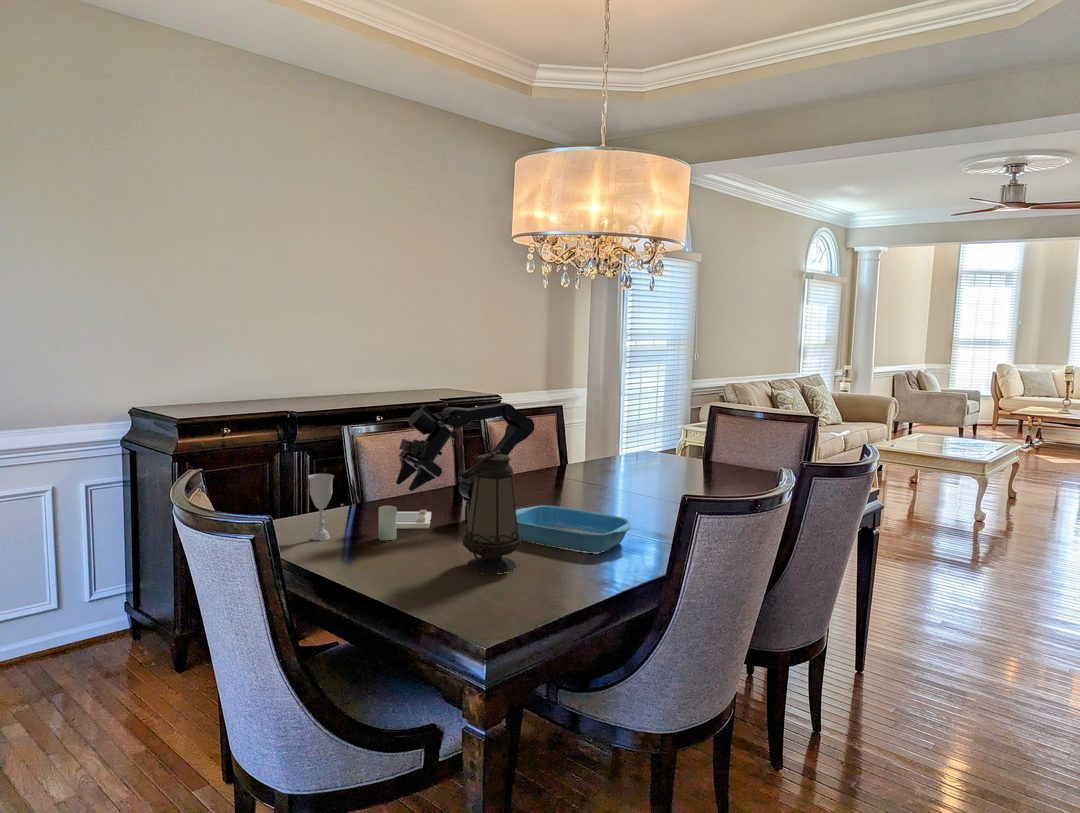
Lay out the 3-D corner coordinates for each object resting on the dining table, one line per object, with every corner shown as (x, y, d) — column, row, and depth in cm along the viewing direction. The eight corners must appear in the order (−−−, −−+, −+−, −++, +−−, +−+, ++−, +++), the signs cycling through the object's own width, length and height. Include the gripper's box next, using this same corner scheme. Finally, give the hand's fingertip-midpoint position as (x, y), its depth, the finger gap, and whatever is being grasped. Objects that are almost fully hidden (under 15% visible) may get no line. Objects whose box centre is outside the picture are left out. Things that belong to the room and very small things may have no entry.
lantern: (509, 582, 176) (512, 459, 173) (450, 574, 180) (452, 455, 176) (529, 559, 194) (533, 447, 190) (475, 552, 197) (478, 443, 194)
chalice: (339, 537, 208) (339, 475, 206) (325, 543, 202) (324, 479, 200) (317, 533, 210) (317, 472, 208) (302, 540, 204) (302, 477, 202)
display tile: (431, 516, 233) (431, 508, 233) (429, 528, 220) (429, 520, 219) (386, 516, 232) (386, 508, 231) (382, 528, 218) (382, 520, 218)
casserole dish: (494, 539, 211) (494, 515, 210) (533, 523, 230) (534, 500, 229) (609, 564, 192) (610, 537, 192) (642, 543, 211) (643, 519, 211)
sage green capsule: (400, 538, 209) (400, 507, 208) (387, 542, 205) (387, 511, 204) (387, 535, 211) (388, 504, 210) (374, 538, 207) (374, 508, 206)
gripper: (401, 424, 221) (371, 466, 216) (428, 432, 205) (395, 478, 201) (427, 444, 226) (398, 486, 222) (455, 454, 211) (424, 499, 207)
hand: (403, 487), depth 213 cm, fingers open, 9 cm apart
